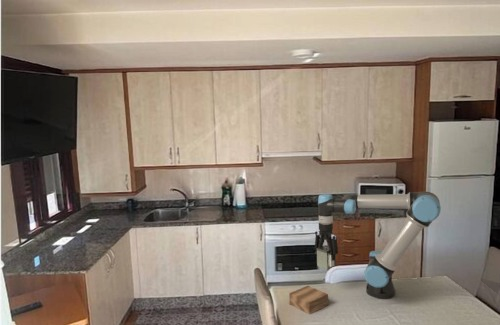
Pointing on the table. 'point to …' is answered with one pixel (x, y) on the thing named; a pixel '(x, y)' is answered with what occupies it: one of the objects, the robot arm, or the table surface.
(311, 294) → the block
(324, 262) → the tea tin
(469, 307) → the table surface
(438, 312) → the table surface
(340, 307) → the table surface
